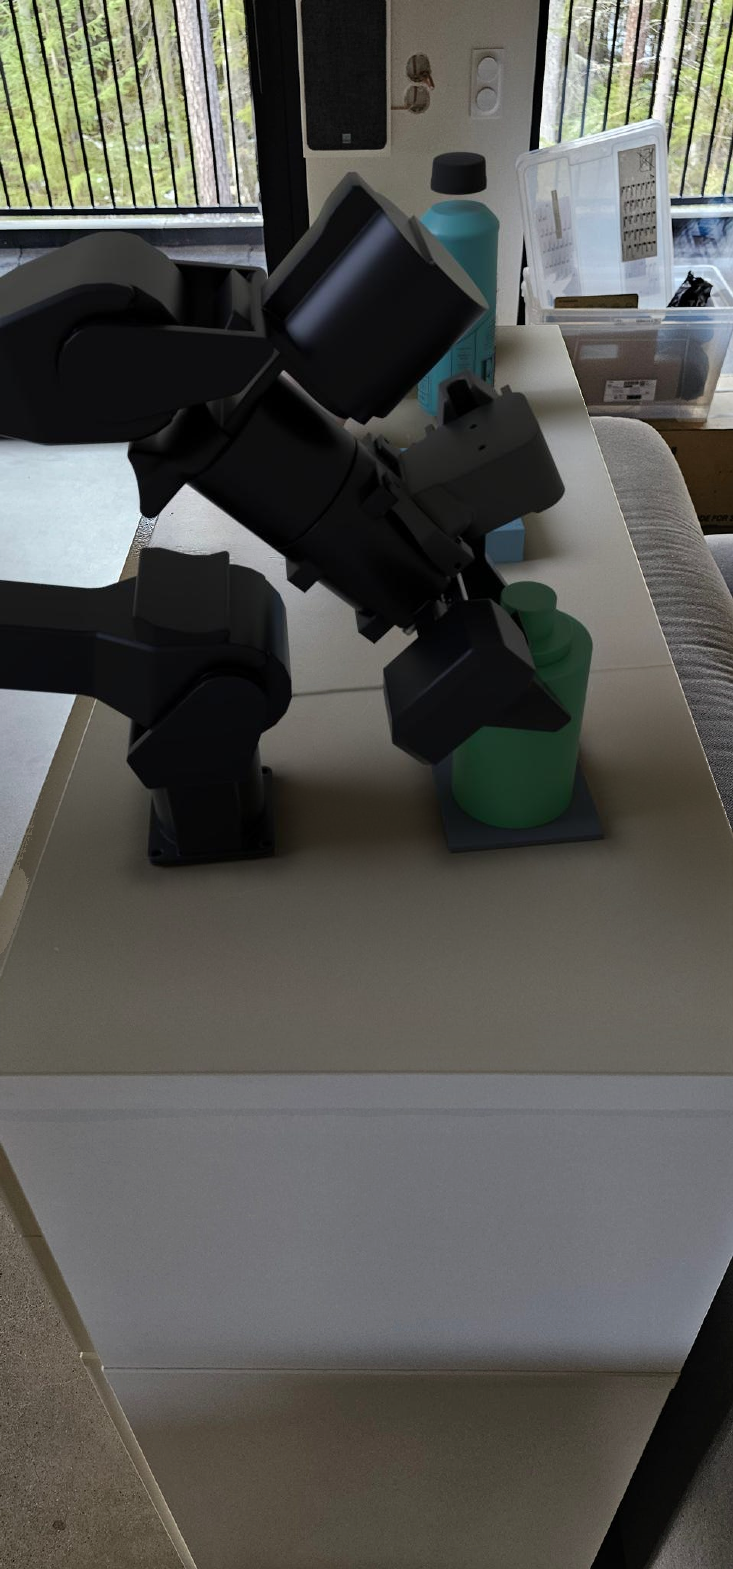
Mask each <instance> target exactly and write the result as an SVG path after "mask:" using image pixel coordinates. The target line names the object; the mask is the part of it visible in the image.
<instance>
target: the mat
mask: <svg viewBox="0 0 733 1569" xmlns="http://www.w3.org/2000/svg"><path fill="white" fill-rule="evenodd" d="M452 762H453V752H451V753H450V754H449V755H448V756H447V757H445V758H444V759H443V760H442V761H441V762H439V763H438V764H437V765H436V766H432V765H430V766H431V770H432V776H433V780H434V785H435V790H436V795H437V800H438V804H439V810H440V813H441V814H440V815H441V818H442V824H443V828H444V833H445V837H446V841H447V847H448V852H449V853H460V852H461V853H462V852H472V851H482V850H483V851H484V850H493V849H494V850H495V849H503V848H504V849H505V848H514V847H516V848H517V847H527V846H536V845H537V846H539V845H548V844H549V845H550V844H560V843H571V842H582V841H583V842H584V841H592V840H593V841H594V840H604V839H605V836H606V832H605V830H604V827H603V824H602V822H601V819H600V816H599V813H598V811H597V807H596V805H595V802H594V799H593V796H592V794H591V790H590V788H589V785H588V782H587V780H586V777H585V775H584V772H583V769H582V766H581V764H580V761H579V758H578V757H577V763H576V770H575V777H574V784H573V791H572V797H571V801H570V803H569V805H568V806H567V808H566V809H565V810H564V812H563V813H562V814H561V815H559V816H558V817H557V818H555V819H554V820H552V821H550V822H548V823H546V824H543V825H540V826H537V827H532V828H525V829H507V828H500V827H495V826H492V825H488V824H486V823H483V822H481V821H479V820H477V819H475V818H473V817H472V816H470V815H469V814H467V813H466V812H465V811H464V810H463V809H462V808H461V807H460V806H459V804H458V803H457V801H456V800H455V797H454V795H453V792H452Z"/></svg>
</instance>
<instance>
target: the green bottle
mask: <svg viewBox="0 0 733 1569" xmlns="http://www.w3.org/2000/svg"><path fill="white" fill-rule="evenodd" d="M557 604H558V596H557V593H556V591H555V590H554V589H553V588H552V587H550V586H549V585H547V584H545V583H542V582H539V581H531V580H521V581H516V582H512V583H510V584H508V586H506V587H505V588H504V589H503V590H502V592H501V595H500V605H499V606H500V607H501V608H502V609H504V610H505V611H506V612H507V613H508V614H509V615H511V614H512V613H513V612H514V611H515V610H516V609H518V611H519V614H520V617H521V619H522V622H523V625H524V628H525V631H526V634H527V636H528V639H529V642H530V654H531V657H532V660H533V663H534V665H535V668H536V673H537V674H538V676H539V677H540V678H541V679H542V680H543V681H544V682H545V684H546V685H547V686H548V687H549V688H550V689H551V690H552V692H553V693H554V694H555V695H556V696H557V698H558V699H559V700H560V701H561V703H562V704H563V705H564V706H565V708H566V709H567V710H568V711H569V713H570V715H571V718H572V719H571V721H570V722H569V723H568V724H567V725H565V726H564V727H563V728H562V729H560V730H559V731H557V732H544V731H533V730H522V729H512V728H501V727H487V726H483V727H482V728H481V729H479V730H478V731H477V732H476V733H474V734H473V735H472V736H471V737H470V738H468V739H467V740H466V741H465V742H464V743H462V744H461V745H460V746H459V747H458V748H456V749H455V750H454V751H453V762H452V792H453V795H454V797H455V800H456V801H457V803H458V804H459V806H460V807H461V808H462V809H463V810H464V811H465V812H466V813H467V814H469V815H470V816H472V817H473V818H475V819H477V820H479V821H481V822H483V823H486V824H488V825H492V826H495V827H500V828H507V829H525V828H532V827H537V826H540V825H543V824H546V823H548V822H550V821H552V820H554V819H555V818H557V817H558V816H559V815H561V814H562V813H563V812H564V810H565V809H566V808H567V806H568V805H569V803H570V801H571V797H572V791H573V784H574V777H575V770H576V763H577V758H578V756H579V748H580V741H581V735H582V734H581V733H582V727H583V719H584V713H585V706H586V700H587V691H588V685H589V678H590V671H591V670H590V669H591V663H592V656H593V650H594V647H593V646H594V642H593V638H592V636H591V634H590V632H589V631H588V629H587V627H586V626H585V625H584V624H583V623H581V621H579V620H578V619H576V618H575V617H573V616H572V615H570V614H568V613H567V612H564V611H561V610H559V609H557Z"/></svg>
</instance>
